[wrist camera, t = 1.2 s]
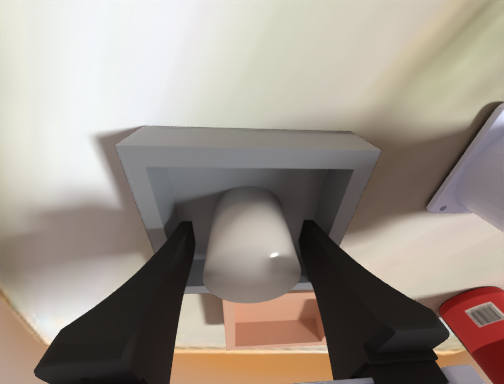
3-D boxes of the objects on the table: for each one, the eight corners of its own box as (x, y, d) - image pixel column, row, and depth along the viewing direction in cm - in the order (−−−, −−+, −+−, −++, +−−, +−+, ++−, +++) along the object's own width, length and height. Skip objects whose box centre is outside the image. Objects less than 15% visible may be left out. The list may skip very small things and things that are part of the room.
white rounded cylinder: (287, 185, 13) (310, 245, 9) (278, 237, 16) (292, 301, 11) (210, 185, 12) (197, 247, 8) (215, 238, 15) (207, 305, 11)
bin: (350, 131, 12) (381, 150, 9) (308, 258, 18) (320, 289, 16) (143, 125, 11) (114, 145, 8) (179, 261, 17) (169, 294, 15)
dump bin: (347, 260, 19) (364, 290, 16) (318, 317, 26) (327, 344, 23) (224, 263, 18) (222, 295, 15) (227, 321, 25) (226, 350, 22)
